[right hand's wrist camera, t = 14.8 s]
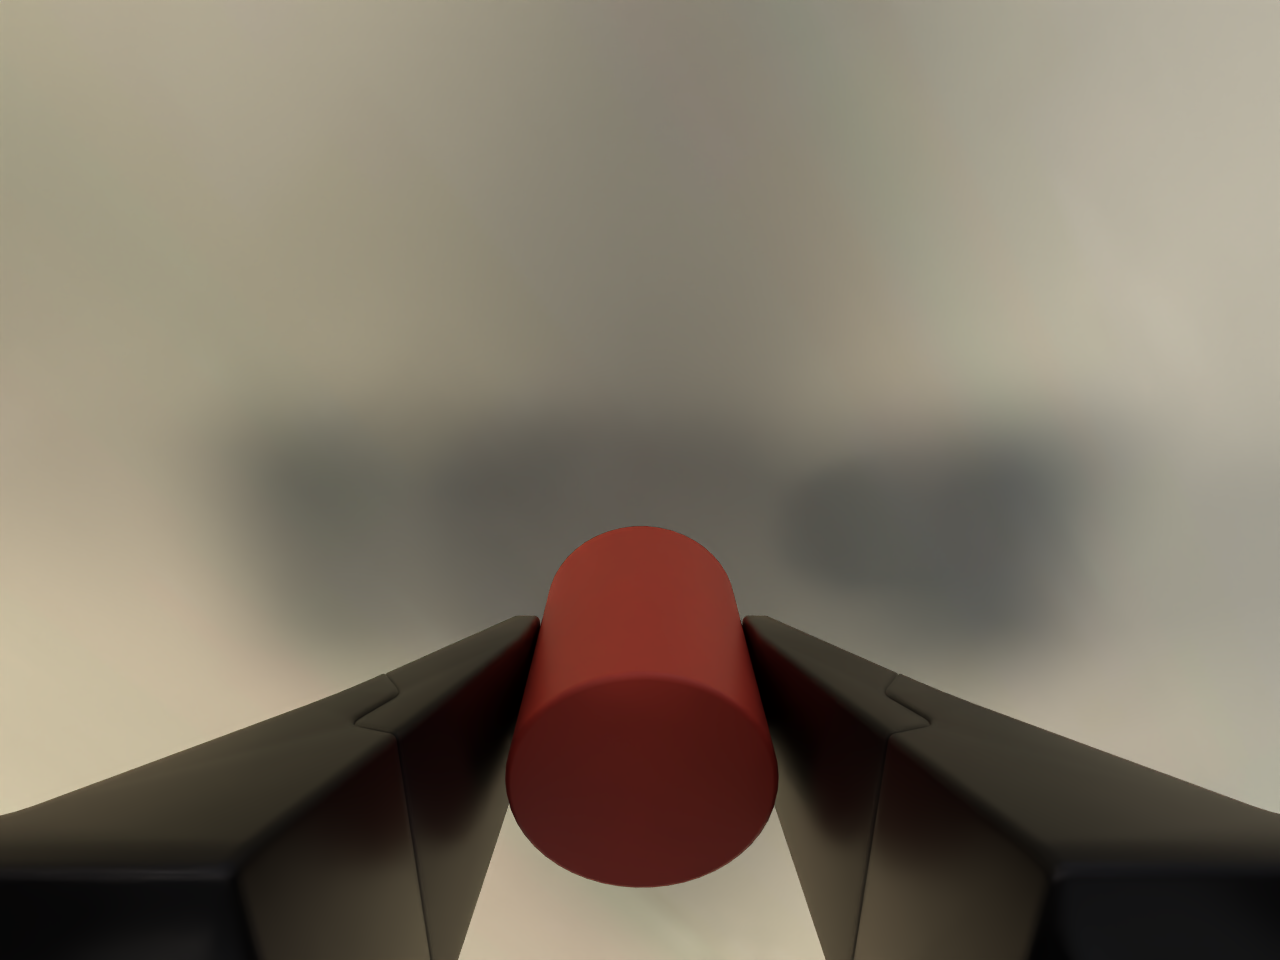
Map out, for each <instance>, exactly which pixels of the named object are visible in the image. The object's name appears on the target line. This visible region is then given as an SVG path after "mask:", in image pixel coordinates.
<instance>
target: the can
mask: <svg viewBox="0 0 1280 960" xmlns="http://www.w3.org/2000/svg"><path fill="white" fill-rule="evenodd" d="M778 781H779V772H778V762H777V758H776V754H775V750H774V747H773V743H772V739H771V735H770V731H769V727H768V724H767V720H766V716H765V712H764V708H763V704H762V701H761V697H760V693H759V689H758V685H757V681H756V678H755V674H754V670H753V666H752V662H751V659H750V655H749V651H748V647H747V643H746V639H745V636H744V632H743V628H742V624H741V620H740V616H739V613H738V609H737V605H736V601H735V597H734V593H733V590H732V586H731V583H730V581H729V578H728V576H727V574H726V572H725V571H724V569H723V567H722V566H721V564H720V563H719V562H718V561H717V559H716V558H715V557H714V556H713V555H712V554H711V553H710V552H709V551H708V550H707V549H705V548H704V547H703V546H701V545H700V544H699V543H697V542H696V541H694V540H692V539H690V538H688V537H686V536H685V535H682V534H679V533H677V532H674V531H671V530H667V529H663V528H658V527H649V526H633V527H625V528H619V529H616V530H612V531H608V532H606V533H603V534H601V535H598V536H596V537H594V538H592V539H590V540H589V541H587V542H585V543H584V544H582V545H581V546H580V547H578V548H577V549H576V550H575V551H574V552H573V553H571V554H570V555H569V556H568V557H567V559H566V560H565V561H564V562H563V564H562V565H561V566H560V568H559V570H558V571H557V573H556V575H555V577H554V579H553V582H552V584H551V587H550V591H549V595H548V599H547V603H546V607H545V611H544V614H543V618H542V622H541V626H540V630H539V634H538V638H537V642H536V646H535V650H534V654H533V658H532V662H531V666H530V670H529V674H528V678H527V682H526V686H525V690H524V694H523V698H522V702H521V706H520V710H519V714H518V718H517V722H516V726H515V730H514V734H513V738H512V742H511V746H510V750H509V754H508V758H507V763H506V772H505V784H506V793H507V797H508V801H509V804H510V808H511V811H512V813H513V815H514V817H515V820H516V822H517V824H518V825H519V827H520V829H521V830H522V832H523V833H524V835H525V836H526V837H527V838H528V839H529V841H530V842H531V843H532V844H533V845H534V846H535V847H536V848H537V849H538V850H539V851H540V852H541V853H542V854H544V855H545V856H546V857H547V858H549V859H550V860H552V861H553V862H554V863H556V864H557V865H559V866H561V867H563V868H565V869H566V870H568V871H570V872H572V873H574V874H577V875H579V876H582V877H584V878H587V879H590V880H594V881H597V882H600V883H605V884H610V885H615V886H623V887H635V888H637V887H660V886H669V885H674V884H678V883H683V882H687V881H690V880H693V879H696V878H700V877H702V876H704V875H707V874H709V873H711V872H714V871H716V870H717V869H719V868H721V867H723V866H724V865H726V864H728V863H729V862H731V861H732V860H733V859H735V858H736V857H737V856H739V855H740V854H741V853H742V852H743V851H745V850H746V849H747V848H748V847H749V846H750V845H751V844H752V843H753V841H754V840H755V839H756V838H757V837H758V835H759V834H760V833H761V831H762V830H763V828H764V826H765V825H766V823H767V821H768V819H769V817H770V815H771V812H772V810H773V807H774V804H775V800H776V796H777V792H778Z"/></svg>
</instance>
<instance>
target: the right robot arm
mask: <svg viewBox="0 0 1280 960" xmlns="http://www.w3.org/2000/svg"><path fill="white" fill-rule="evenodd" d="M742 628H743V632H744V636H745V639H746V643H747V647H748V651H749V655H750V659H751V662H752V666H753V670H754V674H755V678H756V681H757V685H758V689H759V693H760V697H761V701H762V704H763V708H764V712H765V716H766V720H767V724H768V727H769V731H770V735H771V739H772V743H773V747H774V750H775V754H776V758H777V762H778V772H779V781H778V792H777V796H776V800H775V804H774V805H775V808H776V811H777V814H778V817H779V820H780V823H781V826H782V829H783V832H784V835H785V838H786V841H787V844H788V847H789V850H790V853H791V856H792V859H793V862H794V865H795V868H796V871H797V875H798V878H799V881H800V884H801V887H802V890H803V893H804V896H805V899H806V902H807V905H808V908H809V911H810V914H811V917H812V920H813V923H814V926H815V929H816V932H817V935H818V938H819V941H820V944H821V947H822V950H823V953H824V956H825V959H826V960H1280V814H1277V813H1273V812H1270V811H1267V810H1264V809H1261V808H1257V807H1254V806H1251V805H1249V804H1246V803H1243V802H1240V801H1238V800H1235V799H1232V798H1230V797H1227V796H1224V795H1221V794H1219V793H1216V792H1213V791H1210V790H1208V789H1205V788H1202V787H1200V786H1197V785H1194V784H1191V783H1189V782H1186V781H1183V780H1180V779H1178V778H1175V777H1172V776H1170V775H1167V774H1164V773H1161V772H1159V771H1156V770H1153V769H1150V768H1148V767H1145V766H1142V765H1140V764H1137V763H1134V762H1131V761H1129V760H1126V759H1123V758H1120V757H1118V756H1115V755H1112V754H1110V753H1107V752H1104V751H1101V750H1099V749H1096V748H1093V747H1091V746H1088V745H1085V744H1082V743H1080V742H1077V741H1074V740H1071V739H1069V738H1066V737H1063V736H1061V735H1058V734H1055V733H1052V732H1050V731H1047V730H1044V729H1041V728H1039V727H1036V726H1033V725H1031V724H1028V723H1025V722H1022V721H1020V720H1017V719H1014V718H1011V717H1009V716H1006V715H1003V714H1001V713H998V712H995V711H992V710H990V709H987V708H984V707H981V706H979V705H976V704H973V703H971V702H968V701H966V700H963V699H960V698H958V697H955V696H953V695H950V694H947V693H945V692H942V691H940V690H937V689H935V688H933V687H930V686H928V685H925V684H923V683H921V682H918V681H916V680H914V679H911V678H909V677H907V676H904V675H902V674H897V673H895V672H893V671H891V670H889V669H886V668H884V667H882V666H880V665H877V664H875V663H873V662H870V661H868V660H866V659H864V658H861V657H859V656H857V655H855V654H852V653H850V652H848V651H845V650H843V649H841V648H839V647H836V646H834V645H832V644H829V643H827V642H825V641H823V640H820V639H818V638H816V637H814V636H811V635H809V634H807V633H804V632H802V631H800V630H798V629H795V628H793V627H791V626H789V625H786V624H784V623H782V622H779V621H777V620H775V619H773V618H770V617H768V616H746V617H744V619H743V622H742ZM539 630H540V620H539V618H538V617H537V616H515V617H512V618H510V619H508V620H505V621H503V622H501V623H499V624H496V625H494V626H492V627H490V628H487V629H485V630H483V631H481V632H478V633H476V634H474V635H472V636H469V637H467V638H465V639H463V640H460V641H458V642H456V643H454V644H451V645H449V646H447V647H445V648H442V649H440V650H438V651H435V652H433V653H431V654H429V655H426V656H424V657H422V658H420V659H417V660H415V661H413V662H411V663H408V664H406V665H404V666H402V667H399V668H397V669H395V670H393V671H390V672H388V673H387V674H386V675H385V674H382V675H379V676H377V677H375V678H372V679H370V680H368V681H366V682H363V683H361V684H358V685H356V686H354V687H351V688H349V689H347V690H344V691H342V692H339V693H337V694H334V695H332V696H329V697H326V698H324V699H321V700H319V701H316V702H313V703H311V704H308V705H305V706H303V707H300V708H297V709H295V710H292V711H289V712H286V713H284V714H281V715H278V716H276V717H273V718H270V719H268V720H265V721H262V722H259V723H257V724H254V725H251V726H249V727H246V728H243V729H240V730H238V731H235V732H232V733H230V734H227V735H224V736H222V737H219V738H216V739H213V740H211V741H208V742H205V743H203V744H200V745H197V746H194V747H192V748H189V749H186V750H184V751H181V752H178V753H175V754H173V755H170V756H167V757H165V758H162V759H159V760H157V761H154V762H151V763H148V764H146V765H143V766H140V767H138V768H135V769H132V770H129V771H127V772H124V773H121V774H119V775H116V776H113V777H111V778H108V779H105V780H102V781H100V782H97V783H94V784H92V785H89V786H86V787H83V788H81V789H78V790H75V791H73V792H70V793H67V794H64V795H62V796H59V797H56V798H54V799H51V800H48V801H46V802H43V803H40V804H37V805H35V806H32V807H29V808H26V809H22V810H19V811H16V812H13V813H9V814H5V815H1V816H0V960H458V958H459V955H460V952H461V949H462V946H463V943H464V940H465V937H466V933H467V930H468V927H469V924H470V921H471V918H472V915H473V912H474V909H475V906H476V903H477V900H478V897H479V894H480V891H481V888H482V885H483V882H484V878H485V875H486V872H487V869H488V866H489V863H490V860H491V857H492V854H493V851H494V848H495V845H496V842H497V839H498V836H499V833H500V830H501V827H502V823H503V820H504V817H505V814H506V811H507V808H508V805H509V801H508V797H507V793H506V784H505V772H506V763H507V758H508V754H509V750H510V746H511V742H512V738H513V734H514V730H515V726H516V722H517V718H518V714H519V710H520V706H521V702H522V698H523V694H524V690H525V686H526V682H527V678H528V674H529V670H530V666H531V662H532V658H533V654H534V650H535V646H536V642H537V638H538V634H539Z"/></svg>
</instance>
